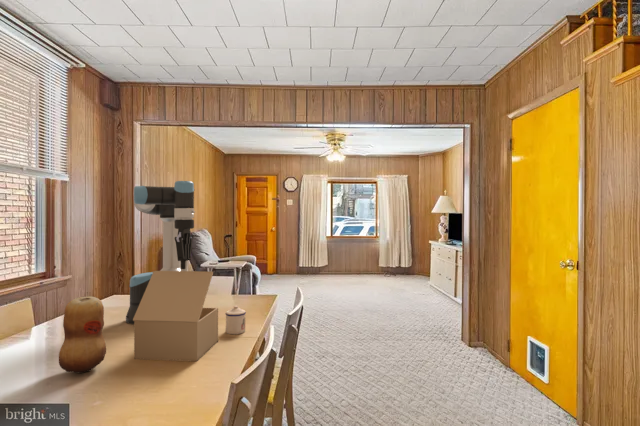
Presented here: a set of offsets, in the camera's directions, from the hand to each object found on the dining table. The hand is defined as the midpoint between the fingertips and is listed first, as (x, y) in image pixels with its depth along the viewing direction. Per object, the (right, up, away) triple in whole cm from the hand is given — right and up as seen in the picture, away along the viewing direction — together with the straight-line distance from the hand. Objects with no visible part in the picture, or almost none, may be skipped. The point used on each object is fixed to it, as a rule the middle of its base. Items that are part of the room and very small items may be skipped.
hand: (184, 276), depth 157 cm
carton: (0, -28, -5) cm, 28 cm away
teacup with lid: (+17, -28, +20) cm, 38 cm away
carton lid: (-1, -6, -8) cm, 10 cm away
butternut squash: (-25, -28, -26) cm, 46 cm away
